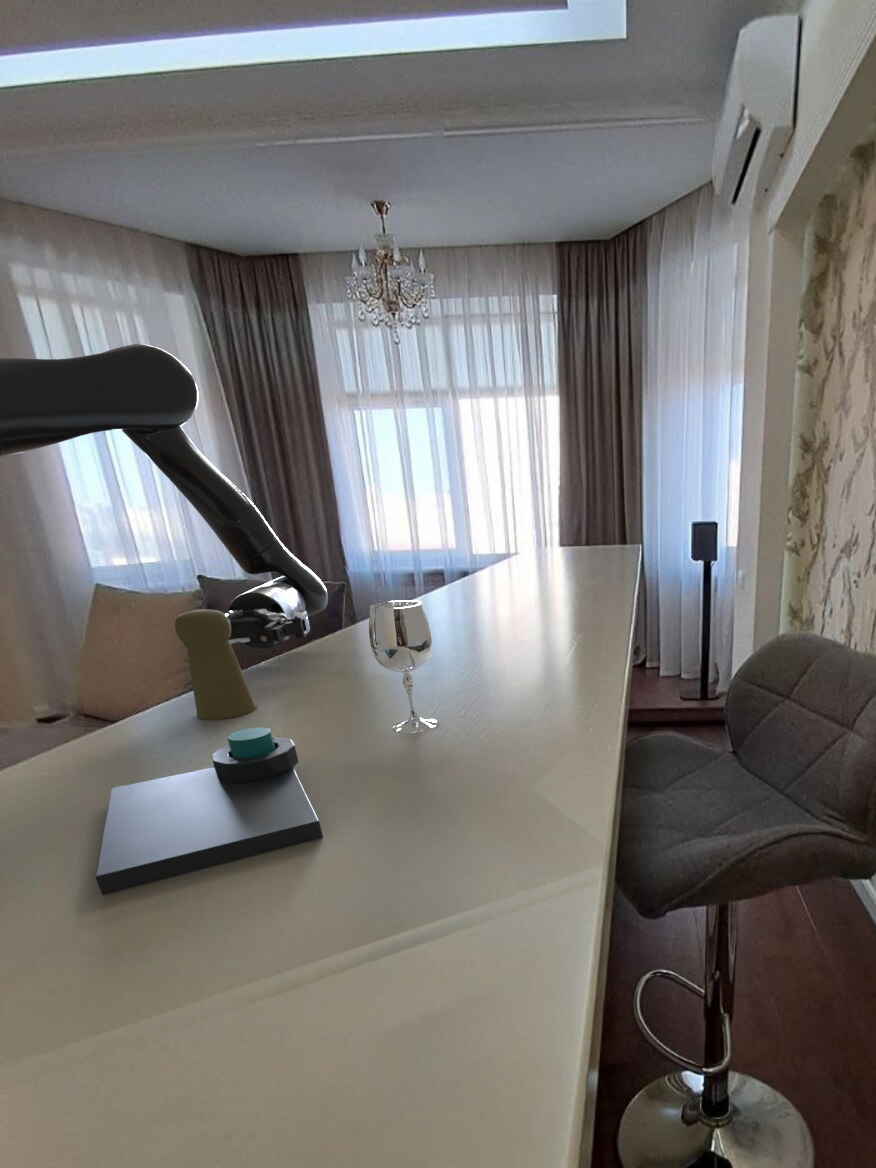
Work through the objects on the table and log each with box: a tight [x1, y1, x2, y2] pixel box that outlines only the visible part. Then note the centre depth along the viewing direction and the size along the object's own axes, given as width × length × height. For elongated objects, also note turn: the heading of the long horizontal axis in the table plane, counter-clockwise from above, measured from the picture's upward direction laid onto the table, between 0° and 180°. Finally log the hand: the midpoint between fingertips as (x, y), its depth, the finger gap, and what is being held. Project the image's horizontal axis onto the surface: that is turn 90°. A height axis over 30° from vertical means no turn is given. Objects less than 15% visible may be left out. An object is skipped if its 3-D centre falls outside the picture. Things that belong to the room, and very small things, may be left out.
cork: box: [174, 608, 257, 721], centre depth 74 cm, size 6×6×11 cm
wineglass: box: [368, 600, 439, 734], centre depth 66 cm, size 6×6×12 cm
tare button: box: [227, 726, 275, 759], centre depth 55 cm, size 3×3×2 cm
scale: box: [94, 736, 324, 896], centre depth 51 cm, size 16×14×3 cm
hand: (231, 639), depth 80 cm, fingers open, 8 cm apart
